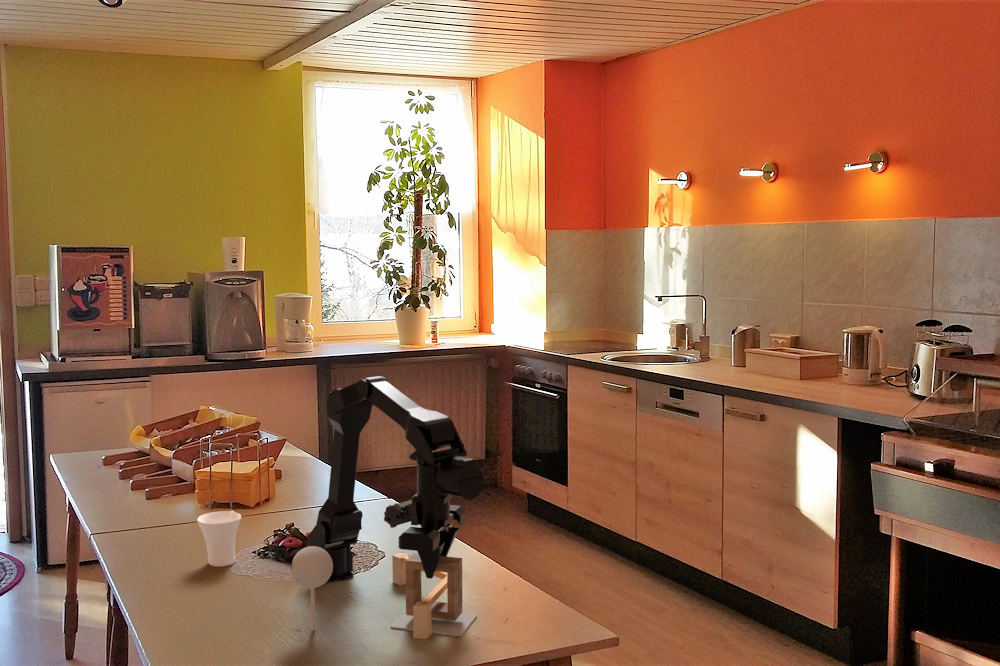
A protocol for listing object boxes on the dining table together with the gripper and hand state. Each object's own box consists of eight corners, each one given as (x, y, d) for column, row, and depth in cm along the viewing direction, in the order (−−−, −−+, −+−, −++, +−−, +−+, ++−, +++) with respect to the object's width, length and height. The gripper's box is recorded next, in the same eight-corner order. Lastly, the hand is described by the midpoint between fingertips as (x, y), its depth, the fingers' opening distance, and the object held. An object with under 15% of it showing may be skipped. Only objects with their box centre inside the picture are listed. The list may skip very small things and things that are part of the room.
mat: (409, 608, 182) (409, 607, 182) (476, 616, 179) (476, 615, 179) (390, 628, 174) (390, 626, 174) (461, 636, 170) (461, 635, 170)
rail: (417, 641, 168) (417, 609, 168) (358, 587, 193) (357, 560, 192) (485, 626, 175) (485, 595, 174) (420, 576, 199) (419, 549, 199)
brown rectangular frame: (414, 606, 179) (413, 553, 178) (462, 612, 177) (462, 558, 176) (406, 615, 176) (405, 560, 174) (455, 620, 173) (454, 565, 172)
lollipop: (295, 622, 176) (293, 541, 174) (335, 621, 177) (334, 540, 175) (290, 639, 169) (288, 554, 167) (332, 638, 170) (330, 553, 168)
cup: (252, 558, 210) (251, 512, 209) (222, 572, 201) (221, 524, 200) (219, 552, 214) (217, 507, 212) (189, 565, 205) (187, 519, 204)
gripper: (410, 471, 185) (410, 552, 187) (369, 498, 167) (370, 587, 169) (466, 476, 182) (466, 558, 183) (431, 504, 164) (432, 594, 166)
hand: (433, 573), depth 175 cm, fingers closed on brown rectangular frame, 4 cm apart
